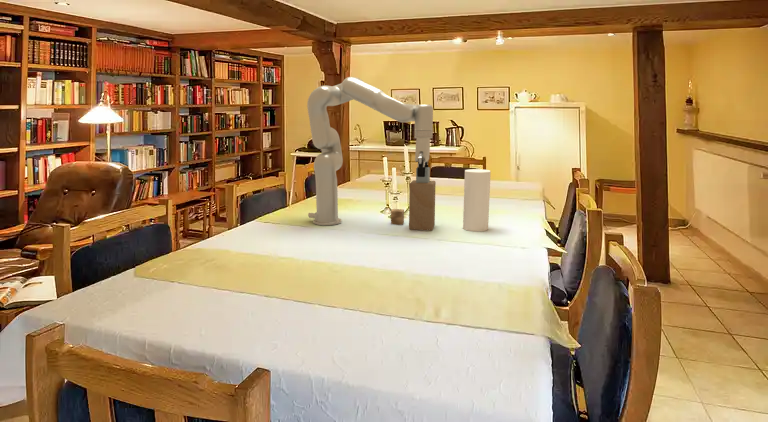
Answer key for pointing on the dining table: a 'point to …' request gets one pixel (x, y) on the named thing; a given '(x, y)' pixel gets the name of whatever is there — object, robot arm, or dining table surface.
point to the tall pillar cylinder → (476, 199)
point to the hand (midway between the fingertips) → (422, 175)
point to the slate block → (424, 179)
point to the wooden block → (422, 205)
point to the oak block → (397, 216)
